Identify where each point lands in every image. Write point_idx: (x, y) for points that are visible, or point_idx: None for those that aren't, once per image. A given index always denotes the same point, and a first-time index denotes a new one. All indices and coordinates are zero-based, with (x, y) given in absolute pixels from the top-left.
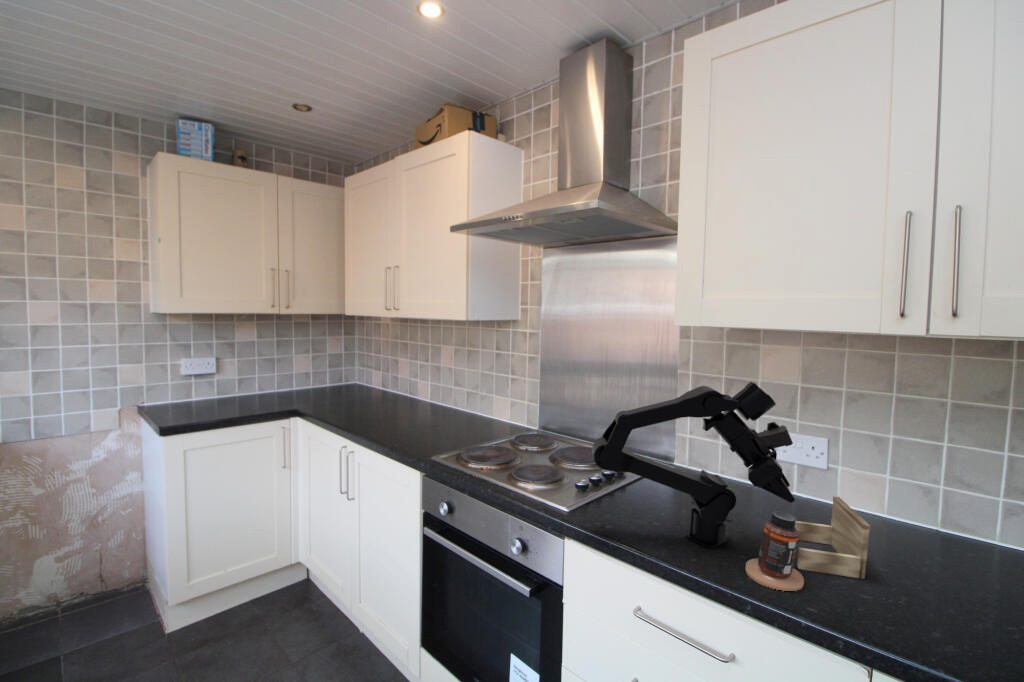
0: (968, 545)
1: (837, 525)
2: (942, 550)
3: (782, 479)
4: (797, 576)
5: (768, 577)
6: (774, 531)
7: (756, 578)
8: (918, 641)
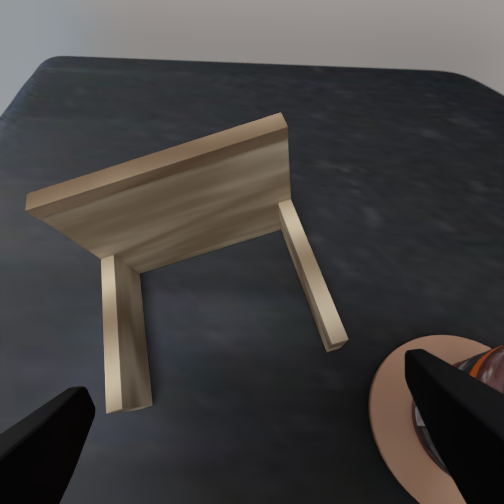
0: (47, 91)
1: (132, 236)
2: (81, 116)
3: (42, 458)
4: (431, 351)
5: None
6: None
7: None
8: (486, 152)
